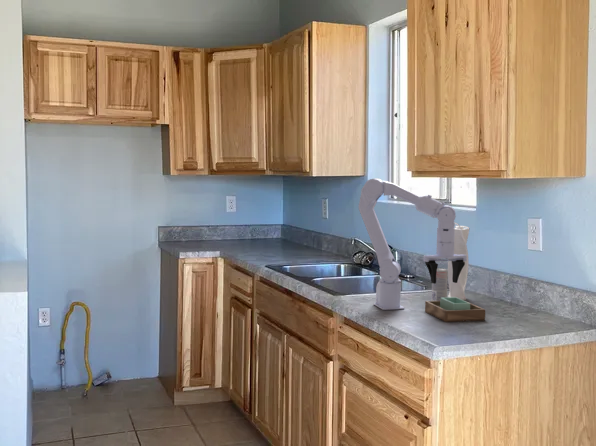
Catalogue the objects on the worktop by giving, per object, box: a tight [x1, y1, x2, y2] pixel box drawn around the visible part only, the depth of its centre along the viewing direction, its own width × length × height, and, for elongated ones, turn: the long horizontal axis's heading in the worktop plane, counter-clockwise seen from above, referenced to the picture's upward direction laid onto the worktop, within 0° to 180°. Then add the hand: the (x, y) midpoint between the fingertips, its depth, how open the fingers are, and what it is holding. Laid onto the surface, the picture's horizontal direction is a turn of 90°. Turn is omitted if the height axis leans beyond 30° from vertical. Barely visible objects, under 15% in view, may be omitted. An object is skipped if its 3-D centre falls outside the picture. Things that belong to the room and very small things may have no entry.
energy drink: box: [430, 267, 449, 301], centre depth 241 cm, size 5×5×12 cm
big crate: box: [424, 300, 486, 323], centre depth 221 cm, size 15×13×4 cm
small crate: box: [440, 296, 471, 310], centre depth 221 cm, size 10×6×4 cm, turn 13°
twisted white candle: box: [447, 221, 470, 301], centre depth 249 cm, size 8×8×28 cm
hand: (444, 282), depth 228 cm, fingers open, 7 cm apart
